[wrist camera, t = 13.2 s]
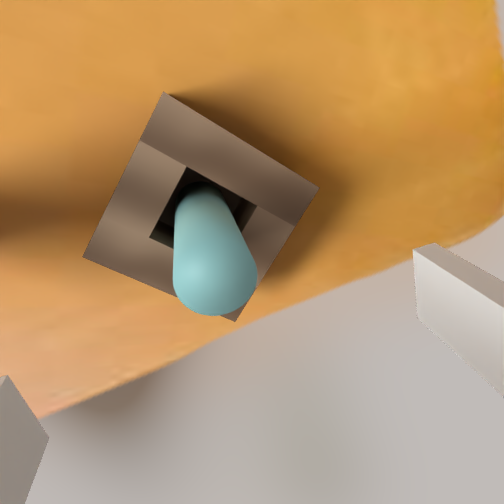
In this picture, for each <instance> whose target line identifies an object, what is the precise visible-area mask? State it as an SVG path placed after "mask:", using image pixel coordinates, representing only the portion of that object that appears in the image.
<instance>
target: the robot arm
mask: <svg viewBox="0 0 504 504" xmlns="http://www.w3.org/2000/svg"><path fill="white" fill-rule="evenodd" d="M413 261H414V276H415V289H416V305H417V318H418V319H419V320H420V321H421V322H422V323H423V324H424V325H425V326H427V327H428V328H429V329H430V330H431V331H432V332H433V333H434V334H435V335H436V336H437V337H438V338H440V339H441V340H442V341H443V342H444V343H445V344H446V345H447V346H448V347H449V348H450V349H451V350H453V351H454V352H455V353H456V354H457V355H458V356H459V357H460V358H461V359H462V360H464V361H465V362H466V363H467V364H468V365H469V366H470V367H471V368H472V369H473V370H474V371H476V373H478V374H479V375H480V376H481V377H482V378H483V379H484V380H485V381H486V382H487V383H488V384H490V385H491V386H492V387H493V388H494V389H495V390H496V391H497V392H498V393H499V394H501V395H502V396H503V397H504V282H503V281H501V280H499V279H498V278H496V277H494V276H493V275H491V274H489V273H487V272H485V271H484V270H482V269H480V268H478V267H476V266H475V265H473V264H471V263H470V262H468V261H466V260H464V259H462V258H460V257H459V256H457V255H455V254H454V253H452V252H450V251H448V250H447V249H445V248H443V247H441V246H439V245H438V244H436V243H432V244H428V245H425V246H422V247H419V248H416V249H413ZM48 440H49V436H48V435H47V433H46V432H45V430H44V429H43V427H42V426H41V424H40V423H39V421H38V420H37V418H36V417H35V415H34V414H33V412H32V411H31V409H30V408H29V406H28V405H27V403H26V402H25V400H24V399H23V397H22V396H21V394H20V393H19V391H18V390H17V388H16V387H15V385H14V384H13V382H12V381H11V379H10V378H9V376H8V375H6V376H2V377H0V504H25V501H26V499H27V496H28V493H29V491H30V488H31V485H32V483H33V480H34V477H35V474H36V472H37V469H38V467H39V464H40V461H41V459H42V456H43V453H44V450H45V448H46V445H47V443H48Z"/></svg>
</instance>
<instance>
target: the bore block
mask: <svg viewBox="0 0 504 504" xmlns="http://www.w3.org/2000/svg"><path fill="white" fill-rule="evenodd" d="M197 181H203V182H208V183H210V184H212V185H214V186H215V187H217V188H218V189H219V190H220V192H221V193H222V195H223V197H224V199H225V201H226V203H227V205H228V207H229V210H230V212H231V214H232V216H233V218H234V220H235V222H236V224H237V226H238V228H239V230H240V232H241V234H242V236H243V238H244V241H245V243H246V245H247V247H248V249H249V251H250V253H251V255H252V257H253V259H254V261H255V264H256V267H257V283H256V287H255V290H256V288H257V286H258V285H259V283H260V282H261V280H262V278H263V277H264V275H265V274H266V272H267V271H268V269H269V267H270V266H271V264H272V263H273V261H274V259H275V258H276V256H277V255H278V253H279V252H280V250H281V248H282V247H283V245H284V244H285V242H286V240H287V239H288V237H289V236H290V234H291V232H292V231H293V229H294V228H295V226H296V225H297V223H298V221H299V220H300V218H301V217H302V215H303V213H304V212H305V210H306V209H307V207H308V205H309V204H310V202H311V201H312V199H313V198H314V196H315V194H316V193H317V191H318V190H319V187H318V186H316V185H314V184H313V183H311V182H310V181H308V180H306V179H305V178H303V177H301V176H300V175H298V174H297V173H295V172H293V171H292V170H290V169H288V168H287V167H285V166H283V165H282V164H280V163H279V162H277V161H275V160H274V159H272V158H270V157H269V156H267V155H266V154H264V153H262V152H261V151H259V150H257V149H256V148H254V147H253V146H251V145H249V144H248V143H246V142H244V141H243V140H241V139H240V138H238V137H236V136H235V135H233V134H231V133H230V132H228V131H227V130H225V129H223V128H222V127H220V126H218V125H217V124H215V123H213V122H212V121H210V120H209V119H207V118H205V117H204V116H202V115H200V114H199V113H197V112H196V111H194V110H192V109H191V108H189V107H187V106H186V105H184V104H183V103H181V102H179V101H178V100H176V99H174V98H173V97H171V96H170V95H168V94H166V93H165V92H163V93H162V95H161V97H160V99H159V101H158V104H157V106H156V108H155V110H154V112H153V114H152V116H151V118H150V120H149V122H148V124H147V126H146V128H145V130H144V132H143V134H142V136H141V138H140V140H139V142H138V144H137V146H136V148H135V150H134V152H133V155H132V157H131V159H130V161H129V163H128V165H127V167H126V169H125V171H124V173H123V175H122V177H121V179H120V181H119V183H118V185H117V187H116V189H115V191H114V193H113V195H112V197H111V199H110V201H109V203H108V206H107V208H106V210H105V212H104V214H103V216H102V218H101V220H100V222H99V224H98V226H97V228H96V230H95V232H94V234H93V236H92V238H91V240H90V242H89V244H88V246H87V248H86V250H85V252H84V254H83V257H84V258H86V259H88V260H91V261H93V262H95V263H98V264H100V265H102V266H105V267H107V268H109V269H112V270H114V271H116V272H119V273H121V274H124V275H126V276H128V277H131V278H133V279H135V280H138V281H140V282H142V283H145V284H147V285H149V286H152V287H154V288H157V289H159V290H161V291H164V292H166V293H168V294H171V295H173V296H175V297H177V295H176V292H175V290H174V286H173V257H174V228H175V203H176V198H177V196H178V194H179V192H180V191H181V189H182V188H184V187H185V186H186V185H188V184H190V183H192V182H197ZM255 290H254V291H255ZM253 293H254V292H253ZM251 296H252V295H251ZM250 298H251V297H250ZM250 298H249V299H250ZM249 299H248V300H247V302H248V301H249ZM247 302H246V303H245V304H243V305H242V306H241V307H239V308H238V309H236V310H234V311H232V312H230V313H227V314H223V315H220V316H222V317H225V318H227V319H230V320H232V321H234V322H235V321H236V320H237V318H238V317H239V315H240V313H241V312H242V310H243V309H244V307H245V305H246V304H247Z"/></svg>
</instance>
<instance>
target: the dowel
mask: <svg viewBox="0 0 504 504" xmlns="http://www.w3.org/2000/svg"><path fill="white" fill-rule="evenodd" d="M256 283H257V267H256V264H255V261H254V259H253V257H252V255H251V253H250V251H249V249H248V247H247V245H246V243H245V241H244V238H243V236H242V234H241V232H240V230H239V228H238V226H237V224H236V222H235V220H234V218H233V216H232V214H231V212H230V210H229V207H228V205H227V203H226V201H225V199H224V197H223V195H222V193H221V192H220V190H219V189H218V188H217V187H215V186H214V185H212V184H210V183H208V182H203V181H197V182H192V183H190V184H188V185H186V186H185V187H184V188H182V189H181V191H180V192H179V194H178V196H177V198H176V203H175V228H174V257H173V286H174V290H175V292H176V295H177V297H178V298H179V300H180V301H181V302H182V303H183V304H184V305H185V306H186V307H187V308H189V309H190V310H192V311H194V312H196V313H199V314H203V315H210V316H217V315H223V314H227V313H230V312H232V311H234V310H236V309H238V308H239V307H241V306H242V305H243V304H245V303H246V302H247V300H248V299H249V298H250V297H251V295H252V294H253V292H254V290H255V287H256Z"/></svg>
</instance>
